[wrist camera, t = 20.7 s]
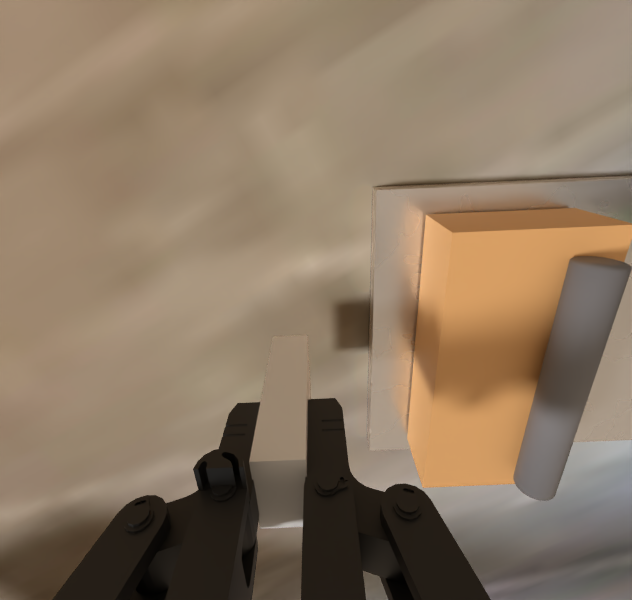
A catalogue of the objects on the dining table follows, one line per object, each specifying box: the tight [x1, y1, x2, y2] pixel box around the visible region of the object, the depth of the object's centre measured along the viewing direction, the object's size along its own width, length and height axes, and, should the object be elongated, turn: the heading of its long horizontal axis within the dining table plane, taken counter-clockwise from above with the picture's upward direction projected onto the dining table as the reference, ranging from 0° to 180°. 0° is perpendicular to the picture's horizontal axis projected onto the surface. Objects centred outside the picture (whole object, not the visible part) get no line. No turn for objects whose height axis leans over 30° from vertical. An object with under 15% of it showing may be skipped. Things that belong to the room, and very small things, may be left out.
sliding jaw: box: [407, 208, 632, 501], centre depth 15 cm, size 12×6×5 cm, turn 2°
